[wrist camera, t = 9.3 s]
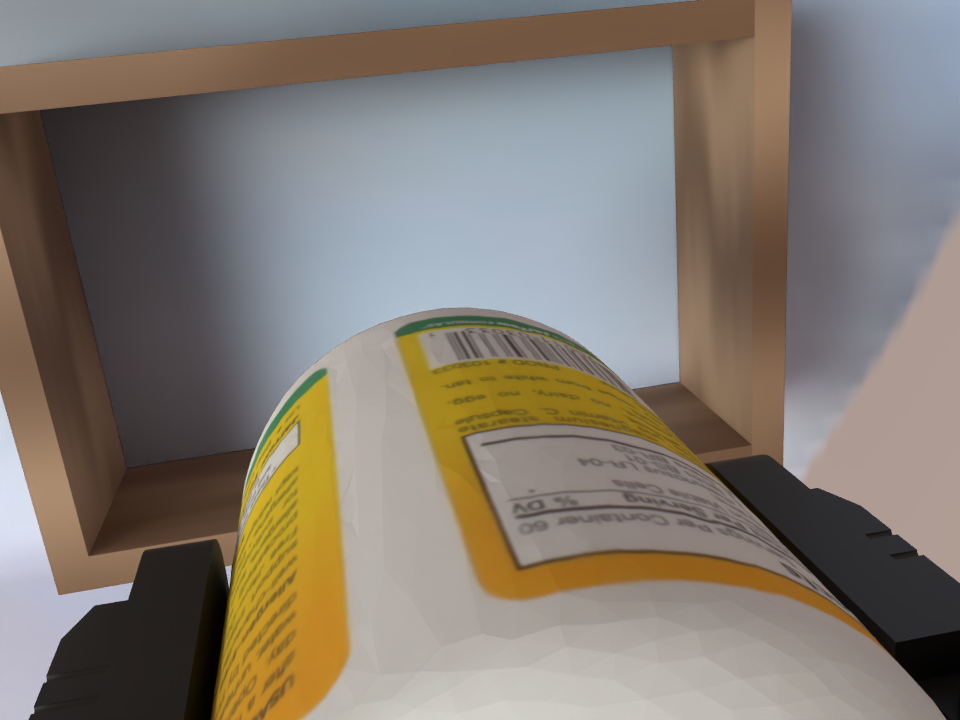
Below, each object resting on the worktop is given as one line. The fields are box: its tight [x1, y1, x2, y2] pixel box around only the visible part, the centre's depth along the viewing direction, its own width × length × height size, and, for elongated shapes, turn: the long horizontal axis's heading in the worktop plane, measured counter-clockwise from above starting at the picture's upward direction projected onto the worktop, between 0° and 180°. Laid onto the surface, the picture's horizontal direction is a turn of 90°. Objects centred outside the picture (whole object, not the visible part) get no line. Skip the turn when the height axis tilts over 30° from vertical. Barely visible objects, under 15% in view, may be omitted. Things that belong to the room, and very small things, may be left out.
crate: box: [0, 0, 792, 595], centre depth 21 cm, size 11×17×4 cm, turn 95°
